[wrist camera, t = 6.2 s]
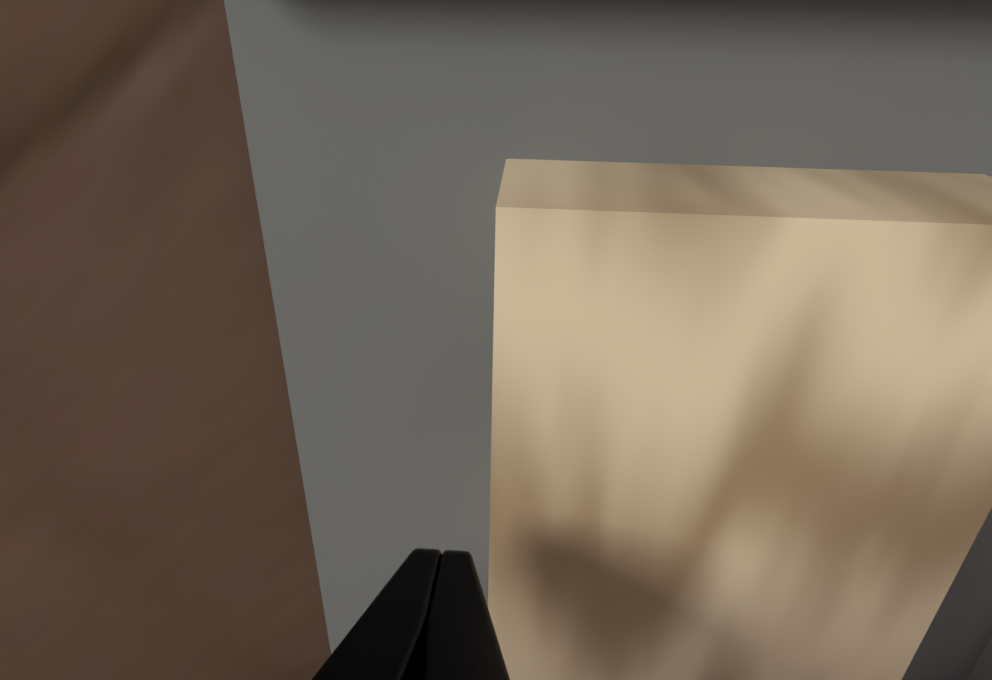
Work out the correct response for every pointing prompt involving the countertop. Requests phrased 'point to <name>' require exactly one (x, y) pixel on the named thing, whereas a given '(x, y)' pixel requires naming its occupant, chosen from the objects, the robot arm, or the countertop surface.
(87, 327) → the countertop surface
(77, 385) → the countertop surface
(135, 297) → the countertop surface
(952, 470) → the wooden block
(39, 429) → the countertop surface
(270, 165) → the mat
